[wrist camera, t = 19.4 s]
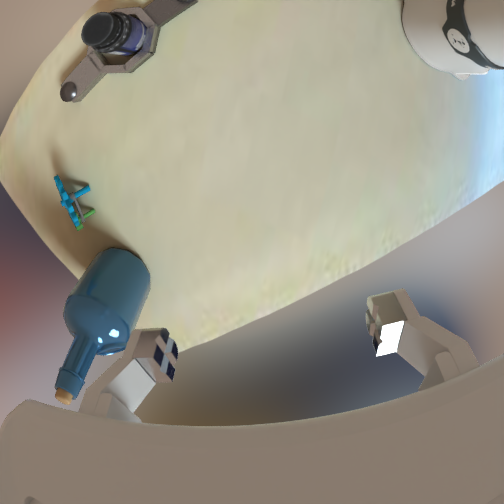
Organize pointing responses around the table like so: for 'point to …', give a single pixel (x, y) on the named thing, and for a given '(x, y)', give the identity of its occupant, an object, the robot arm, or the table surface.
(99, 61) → the octagon ring handle
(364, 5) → the table surface
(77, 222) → the blue jointed connector toy
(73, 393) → the wine bottle
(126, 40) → the pill bottle
